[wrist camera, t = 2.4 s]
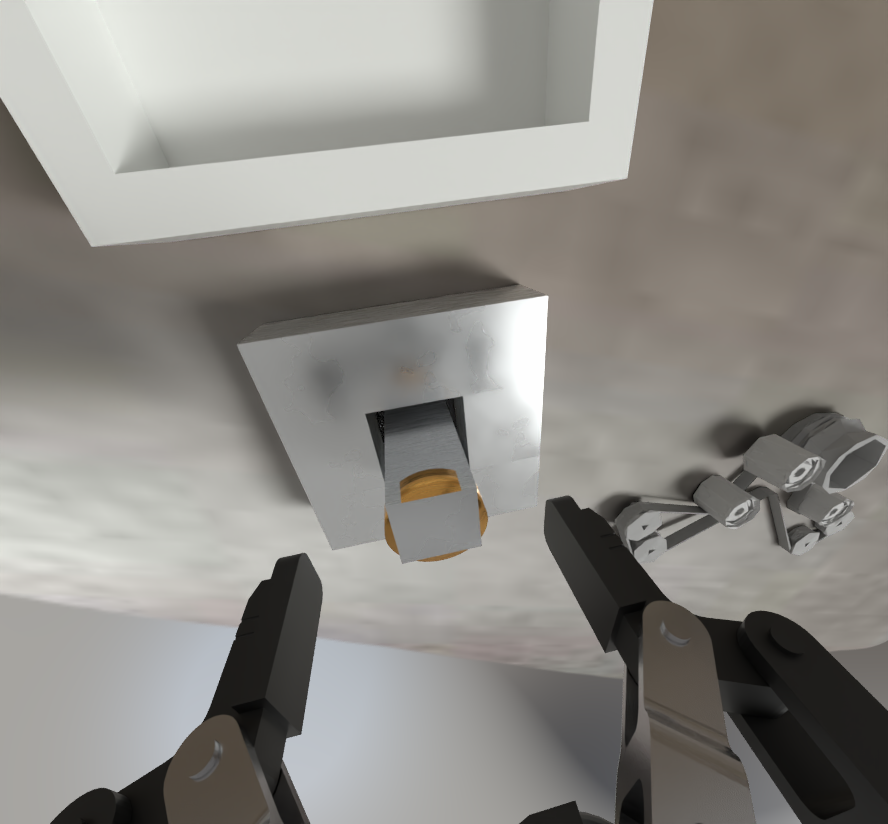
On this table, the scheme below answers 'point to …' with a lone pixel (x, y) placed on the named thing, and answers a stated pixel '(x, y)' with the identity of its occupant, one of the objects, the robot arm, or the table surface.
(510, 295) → the block
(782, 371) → the table surface
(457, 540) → the lock pin
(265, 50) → the parts tray
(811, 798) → the robot arm
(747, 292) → the table surface
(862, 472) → the pulley system
